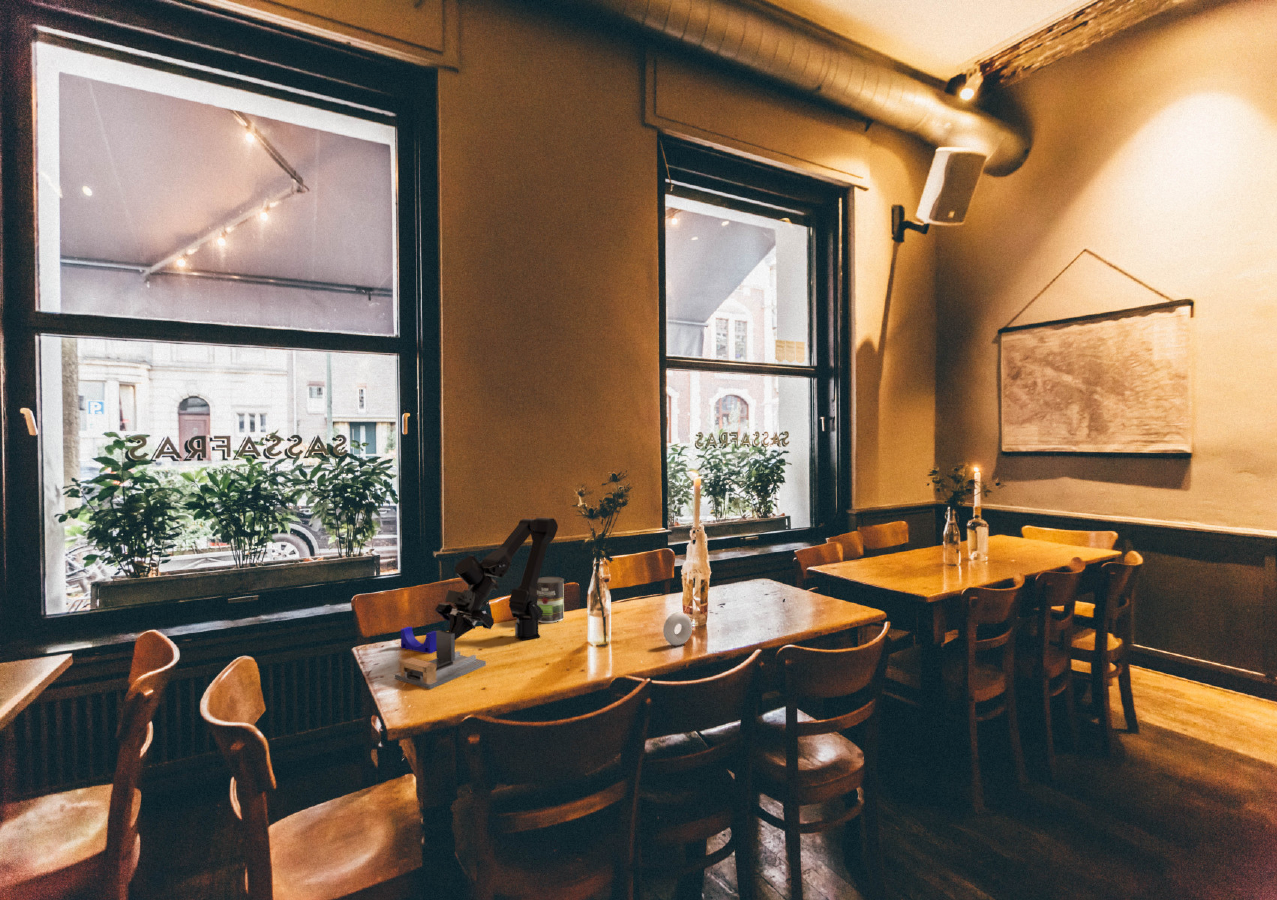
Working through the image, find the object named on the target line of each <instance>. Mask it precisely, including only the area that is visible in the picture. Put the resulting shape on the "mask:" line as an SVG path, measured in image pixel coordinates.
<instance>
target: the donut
mask: <svg viewBox="0 0 1277 900" xmlns="http://www.w3.org/2000/svg"><path fill="white" fill-rule="evenodd" d="M677 625H680V626H681V627H680V628H681V629H680V631H679V632H678V633H676V632H675V629H676V626H677ZM662 631H663V637H664V640H665V641H666V642H667V643H668V644H670V645H672V646H675V647H676V646H681V645H683V644H685V643H686V642H687V641H688V640H689V639H690V638H691V635H692V632H693V622H692V620H691V618H690V616H688V614H686V613H684V612H680V611H679V612H674V613H672V614H671V615H669V616H668V617H667V618H666V620H665V622H664V624H663V630H662Z"/></svg>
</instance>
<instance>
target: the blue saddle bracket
mask: <svg viewBox="0 0 1277 900" xmlns="http://www.w3.org/2000/svg"><path fill="white" fill-rule="evenodd" d="M436 631H437V630H432V631H429V632H426V633H425V639H424V641H423V643H422V642H420V641H418V640H417V638H416V637H415V635H414V632H413V627H412V626H406V627H404V628H400V648H401V649H403V648H405V649H404V650H408V649H409V651H412V652H413V651H414V652H419V653H426V654H429V655H430V654H432V653H433V654H434V653H435V652H436Z"/></svg>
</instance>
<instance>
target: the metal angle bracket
mask: <svg viewBox="0 0 1277 900" xmlns="http://www.w3.org/2000/svg"><path fill="white" fill-rule="evenodd" d="M435 631H436V651H435V652H436V658H438V659H436V658H434V659H435V660H434V659H432V660H433V661H431V660H429V661H430V663H434V664H436V670H437V669H439V668H442V667H444V666H447V665H449V664H452V663H453V661H454V660H455V652H456V651H455V650H456V649H455V648H456V645H455V644H456V642H455V641H456V640H455V633H452V632H448V630H447V631H446V630H442V629H439V630H438V629H437V630H435ZM412 675H415V676H418V677H420V676H422V675H423V672H421V671H417V670H413V669H412Z"/></svg>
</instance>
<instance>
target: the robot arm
mask: <svg viewBox="0 0 1277 900" xmlns="http://www.w3.org/2000/svg"><path fill="white" fill-rule="evenodd" d="M558 529H559V525H558V522H557V521H556V519H555V518H551V517H536V518H535V519H533V518H522V519H520V520H519V521H518V525H517V526H516V527H515V528H514V530H513V531H512V532H511V533H510V534H509V536H507V538H506V539H505V540H504V542H503V543H502V544H501V545H500V547H498V548H497V549H496V550H492V551H491V552H489V554H487V555H485V557H484V558H483V559H482V560H481V561H479V560H478V559H477V558H476V556H475V555H471V554H469V555H468V556H467V557H466V558H463V559H462V560H460V561H459V562H458V563H456V565H455V568H454V572H455V574H456V575H457V576H458V577H459V578H460V579H461V580H462V581H463V582H464V583H465V584H466V585H468V586H470V587H469V589H468V590H467V589H464V590H463V591H457V590H456V591H455V590H450V589H449V590H448V591H447V594H446V596H445V600H444V602H440V603H438V604H437V605H436V608H435V609H434V611H435V612H436V613H438V614H439V616H440V617H442V618H443V619H444V620H446V621H448V622H449V628H448V630H447V632H452V633H455V641H456V640H458V639H459V638H460V637H461V636H463V635H465V634H467V633H468V632H469V631H471V630H474V629H476V624H477V623H478V622H479V623H482V627H483V629H487V630H492V628H493V626H494V624H495V623H494V621H495V620H494V617H493V616H491V615H490V613H488V612H487V611H486V610H484V609H481V608H482V607H486V606H487V604H488V603H487V602H486V599H487V598H488V597H489V595H490V593H491V592H492V590H495V591H498V590H499V589H500V587H499V584H498V580H496V579H493V578H492V577H494V578H503V577H505V576H506V575H507V572H508V571H509V569H510V568H511V566H512V559H513V557H514V556H515V555H516V553H517V552H518V551H519V549H521V547H522V546H523V544H524V543H525V542H526V540H527V539H528V538H529V537H530V536H531V541H532V544H531V547H530V550H529V554H528V558H527V561H526V565H525V568H524V572H523V575H522V579H521V582H520V584H519V586H518V587H517V588H512V590H511V593H510V597H509V599H508V602H509V603H508V607H509V610H510V612H511V615H512V618H516V622H515V623H514V636H516V638H518V639H519V640H520V641H527V640H533V639H538V638H541V635H540V634H539V622H538V620H539V619H540V618H542V614H543V610H542V609H541V608H540V607H539V606H538V605H537V601H538V596H537V592H536V585H537V582H538V578H540V574H541V569H542V566H543V564H544V563H543V562H544V559H545V555H546V551H547V549H548V546H549V545H550V544H551V542H552V541H554V539H555V537H556V534H557V532H558ZM448 602H449V603H448ZM450 603H452V604H453V605H451V604H450Z"/></svg>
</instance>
